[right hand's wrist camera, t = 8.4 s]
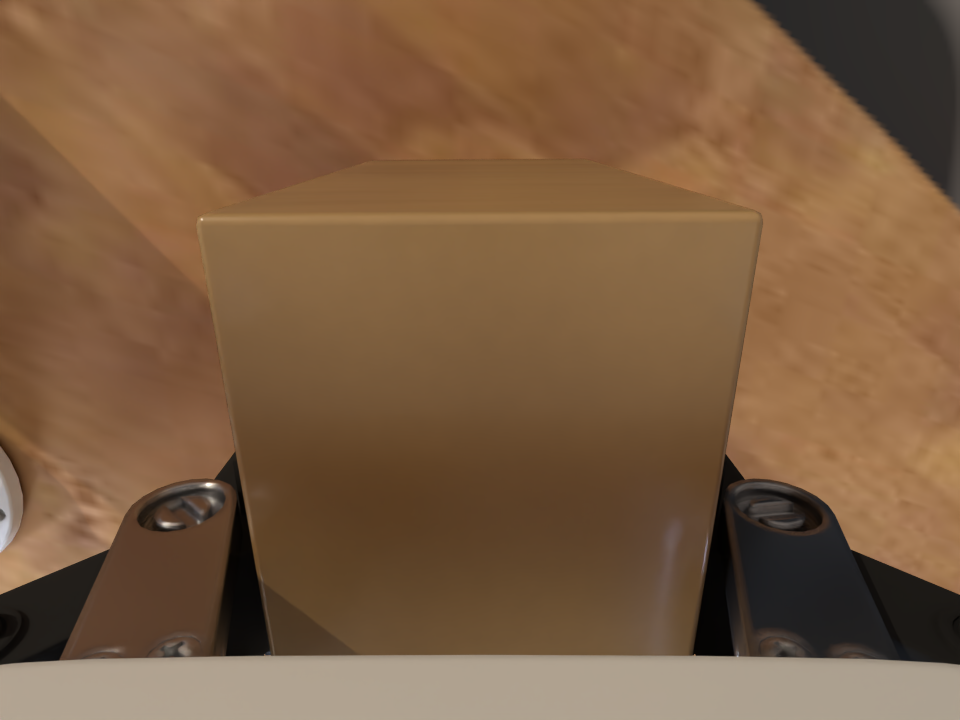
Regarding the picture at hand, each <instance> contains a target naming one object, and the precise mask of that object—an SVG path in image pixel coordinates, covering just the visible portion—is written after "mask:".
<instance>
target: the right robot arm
mask: <svg viewBox="0 0 960 720" xmlns="http://www.w3.org/2000/svg"><path fill="white" fill-rule="evenodd" d="M22 515H23V494H22V490H21V486H20V482H19V478H18V476H17V474H16V472H15V470H14V468H13V465H12V463H11V461H10V459H9V458H8V456H7V455H6V453H5V452H4V451H3V449H2V448H1V446H0V553H1V552H2V551H3V550H4V549H5V548H6V547H7V546H8V545H9V544H10V543H11V542H12V540H13V539H14V537H15V535H16V533H17V531H18V529H19V528H20V524H21V519H22ZM264 654H265V655H271V652H270V646H269V640H268V635H267V629H266V623H265V617H264V612H263V606H262V600H261V595H260V589H259V583H258V577H257V572H256V566H255V560H254V554H253V549H252V543H251V537H250V532H249V526H248V520H247V514H246V509H245V503H244V497H243V491H242V486H241V480H240V474H239V469H238V463H237V457H236V451H235V453H234V454H233V455H232V457H231V458H230V459H229V461H228V462H227V463H226V465H225V466H224V467H223V469H222V470H221V471H220V473H219V474H218V475H217V477H216V478H215V479H214V480H213V479H192V480H186V481H181V482H177V483H173V484H170V485H167V486H164V487H161V488H159V489H157V490H155V491H153V492H151V493H149V494H147V495H145V496H143V497H142V498H141V499H140V500H138V501H137V502H136V503H134V504H133V505H132V506H131V508H130V509H129V510H128V512H127V513H126V514H125V516H124V519H123V521H122V523H121V525H120V527H119V530H118V532H117V534H116V536H115V538H114V541H113V543H112V545H111V547H110V549H109V550H107V551H104V552H102V553H99V554H97V555H95V556H92V557H90V558H87V559H85V560H83V561H80V562H78V563H75V564H73V565H71V566H68V567H66V568H63V569H61V570H58V571H56V572H54V573H51V574H49V575H46V576H44V577H42V578H39V579H37V580H34V581H32V582H30V583H27V584H25V585H22V586H20V587H18V588H15V589H13V590H10V591H8V592H6V593H3V594H1V595H0V720H960V595H959V594H956V593H954V592H952V591H949V590H947V589H944V588H942V587H939V586H937V585H935V584H932V583H930V582H927V581H925V580H923V579H920V578H918V577H915V576H913V575H911V574H908V573H906V572H903V571H901V570H899V569H896V568H894V567H891V566H889V565H887V564H884V563H882V562H879V561H877V560H874V559H872V558H870V557H867V556H865V555H862V554H860V553H858V552H855V551H853V550H851V549H850V547H849V545H848V543H847V541H846V538H845V536H844V534H843V532H842V530H841V527H840V525H839V523H838V521H837V519H836V516H835V514H834V513H833V512H832V510H831V509H830V508H829V506H828V505H827V504H826V503H824V502H823V501H822V500H820V499H819V498H818V497H817V496H815V495H813V494H811V493H809V492H807V491H805V490H803V489H801V488H799V487H796V486H793V485H790V484H787V483H783V482H779V481H774V480H768V479H747V480H745V479H744V478H743V476H742V475H741V474H740V472H739V471H738V470H737V468H736V467H735V466H734V464H733V463H732V462H731V460H730V459H729V458H728V456H727V455H726V454H725V459H724V465H723V471H722V478H721V484H720V490H719V496H718V502H717V508H716V514H715V521H714V527H713V533H712V539H711V545H710V551H709V557H708V563H707V570H706V576H705V582H704V588H703V594H702V600H701V606H700V613H699V619H698V625H697V631H696V637H695V643H694V649H693V655H694V654H696V656H618V655H343V656H264Z"/></svg>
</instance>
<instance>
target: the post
mask: <svg viewBox="0 0 960 720" xmlns="http://www.w3.org/2000/svg"><path fill="white" fill-rule="evenodd" d="M762 226H763V220H762V215H761V213H759V212H757V211H754V210H752V209H749V208H745V207H742V206H739V205H735V204H732V203H729V202H726V201H722V200H719V199H716V198H712V197H709V196H706V195H703V194H699V193H696V192H693V191H689V190H686V189H683V188H680V187H676V186H673V185H670V184H666V183H663V182H660V181H657V180H653V179H650V178H647V177H643V176H640V175H637V174H633V173H630V172H627V171H624V170H620V169H617V168H614V167H610V166H607V165H604V164H601V163H597V162H594V161H591V160H587V159H482V160H372V161H369V162H365V163H362V164H359V165H356V166H353V167H350V168H346V169H343V170H340V171H337V172H334V173H331V174H328V175H324V176H321V177H318V178H315V179H312V180H309V181H305V182H302V183H299V184H296V185H293V186H290V187H287V188H283V189H280V190H277V191H274V192H271V193H268V194H264V195H261V196H258V197H255V198H252V199H249V200H246V201H242V202H239V203H236V204H233V205H230V206H227V207H223V208H220V209H217V210H214V211H211V212H208V213H205V214H203V215H201V216H198V218H197V224H196V228H197V234H198V239H199V245H200V251H201V257H202V262H203V268H204V274H205V280H206V285H207V291H208V297H209V302H210V308H211V314H212V320H213V325H214V331H215V337H216V343H217V348H218V354H219V360H220V365H221V371H222V377H223V383H224V388H225V394H226V400H227V406H228V411H229V417H230V423H231V428H232V434H233V440H234V446H235V451H236V457H237V463H238V469H239V474H240V480H241V486H242V491H243V497H244V503H245V509H246V514H247V520H248V526H249V532H250V537H251V543H252V549H253V554H254V560H255V566H256V572H257V577H258V583H259V589H260V595H261V600H262V606H263V612H264V617H265V623H266V629H267V635H268V640H269V646H270V652H271V656H343V655H618V656H692V655H693V649H694V643H695V637H696V631H697V625H698V619H699V613H700V606H701V600H702V594H703V588H704V582H705V576H706V570H707V563H708V557H709V551H710V545H711V539H712V533H713V527H714V521H715V514H716V508H717V502H718V496H719V490H720V484H721V478H722V471H723V465H724V459H725V453H726V447H727V441H728V435H729V428H730V422H731V416H732V410H733V404H734V398H735V392H736V386H737V379H738V373H739V367H740V361H741V355H742V349H743V343H744V336H745V330H746V324H747V318H748V312H749V306H750V300H751V293H752V287H753V281H754V275H755V269H756V263H757V257H758V251H759V244H760V238H761V232H762Z"/></svg>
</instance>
